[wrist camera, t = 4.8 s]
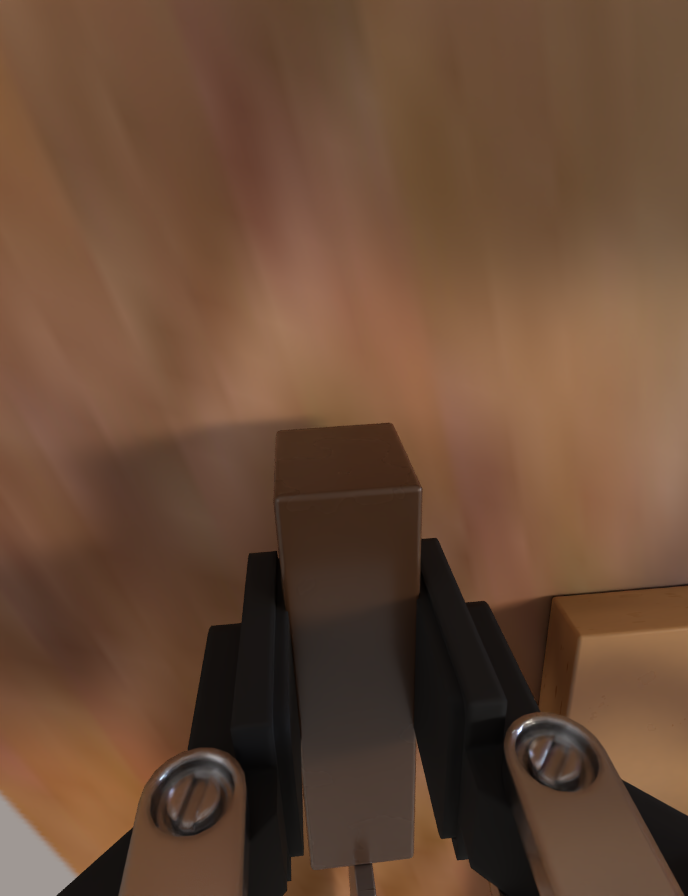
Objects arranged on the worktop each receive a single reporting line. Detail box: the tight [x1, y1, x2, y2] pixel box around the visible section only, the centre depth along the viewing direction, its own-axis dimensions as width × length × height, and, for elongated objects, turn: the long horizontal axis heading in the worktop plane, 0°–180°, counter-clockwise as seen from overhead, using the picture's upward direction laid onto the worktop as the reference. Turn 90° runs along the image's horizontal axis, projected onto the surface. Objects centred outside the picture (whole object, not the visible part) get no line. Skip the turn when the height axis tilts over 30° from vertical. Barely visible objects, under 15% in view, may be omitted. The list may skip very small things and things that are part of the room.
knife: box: [273, 423, 422, 896], centre depth 13 cm, size 19×2×3 cm, turn 2°
